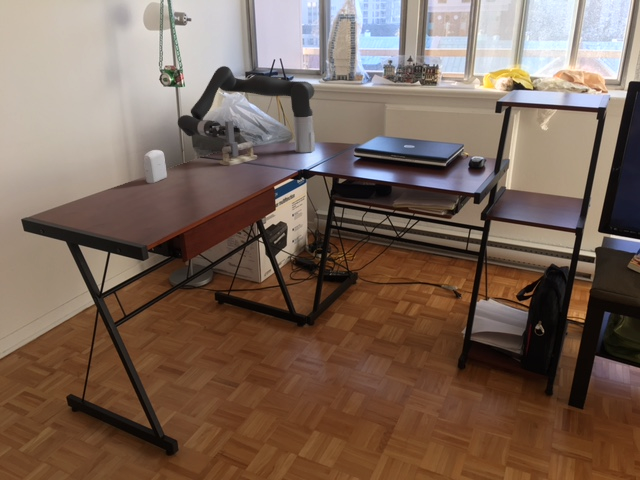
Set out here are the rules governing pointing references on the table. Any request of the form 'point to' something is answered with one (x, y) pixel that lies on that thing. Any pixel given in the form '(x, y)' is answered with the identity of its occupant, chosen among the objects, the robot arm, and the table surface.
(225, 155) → the pipe stand
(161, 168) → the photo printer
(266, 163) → the table surface
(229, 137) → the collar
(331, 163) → the table surface
